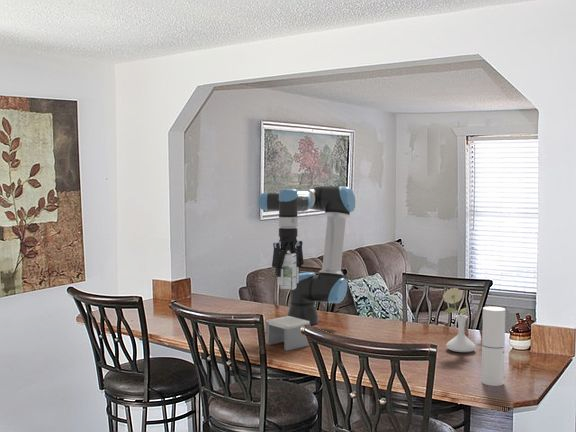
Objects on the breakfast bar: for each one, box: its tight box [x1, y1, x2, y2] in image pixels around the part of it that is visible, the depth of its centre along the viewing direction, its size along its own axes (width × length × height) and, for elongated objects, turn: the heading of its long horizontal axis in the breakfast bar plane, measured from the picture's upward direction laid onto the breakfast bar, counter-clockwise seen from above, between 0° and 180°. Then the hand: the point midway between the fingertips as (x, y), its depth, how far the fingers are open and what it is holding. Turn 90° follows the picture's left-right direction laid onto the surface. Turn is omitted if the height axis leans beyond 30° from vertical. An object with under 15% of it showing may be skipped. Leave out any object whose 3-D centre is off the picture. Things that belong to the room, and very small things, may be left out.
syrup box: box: [278, 252, 296, 291], centre depth 268 cm, size 6×6×14 cm
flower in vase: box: [442, 287, 477, 353], centre depth 261 cm, size 13×11×25 cm
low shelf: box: [265, 315, 311, 351], centre depth 270 cm, size 13×12×10 cm
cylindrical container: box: [480, 306, 506, 387], centre depth 222 cm, size 7×7×25 cm
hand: (288, 283), depth 269 cm, fingers closed on syrup box, 7 cm apart
